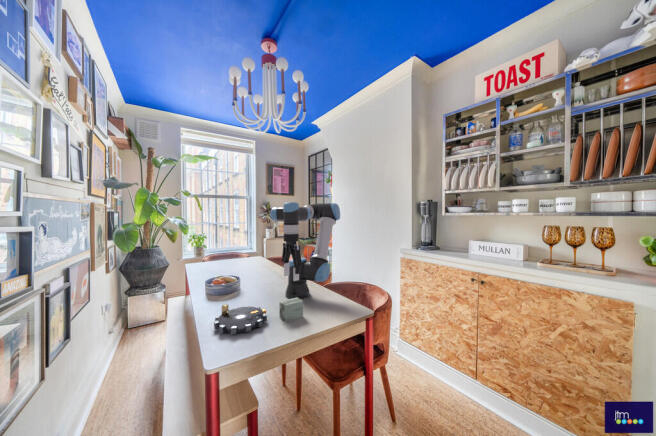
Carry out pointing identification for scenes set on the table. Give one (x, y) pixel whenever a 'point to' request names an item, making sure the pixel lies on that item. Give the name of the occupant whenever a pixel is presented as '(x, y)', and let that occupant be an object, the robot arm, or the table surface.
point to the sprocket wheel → (239, 319)
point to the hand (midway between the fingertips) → (291, 277)
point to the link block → (291, 309)
